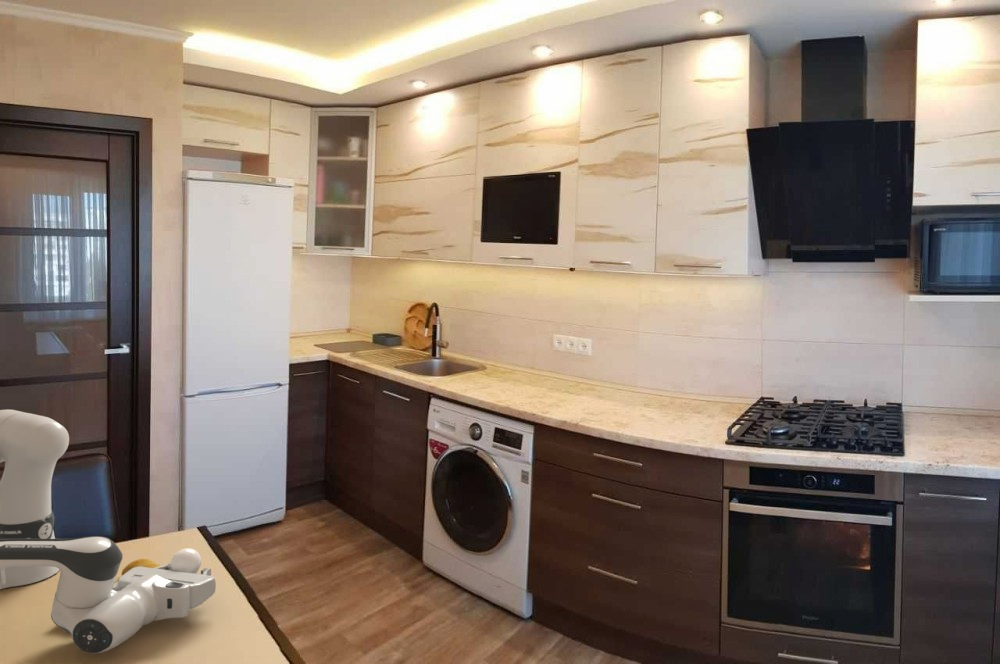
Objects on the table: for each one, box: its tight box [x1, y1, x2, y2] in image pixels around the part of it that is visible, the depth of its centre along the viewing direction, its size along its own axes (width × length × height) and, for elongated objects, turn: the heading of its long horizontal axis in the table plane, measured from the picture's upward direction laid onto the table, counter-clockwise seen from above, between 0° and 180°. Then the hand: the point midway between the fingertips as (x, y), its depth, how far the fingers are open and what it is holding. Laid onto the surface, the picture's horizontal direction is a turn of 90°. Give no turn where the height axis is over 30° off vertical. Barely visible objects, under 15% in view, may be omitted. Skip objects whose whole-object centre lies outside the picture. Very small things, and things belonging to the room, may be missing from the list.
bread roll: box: [121, 558, 161, 576], centre depth 165 cm, size 8×9×4 cm
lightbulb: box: [170, 547, 202, 574], centre depth 156 cm, size 6×6×11 cm
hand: (189, 569), depth 157 cm, fingers open, 8 cm apart
